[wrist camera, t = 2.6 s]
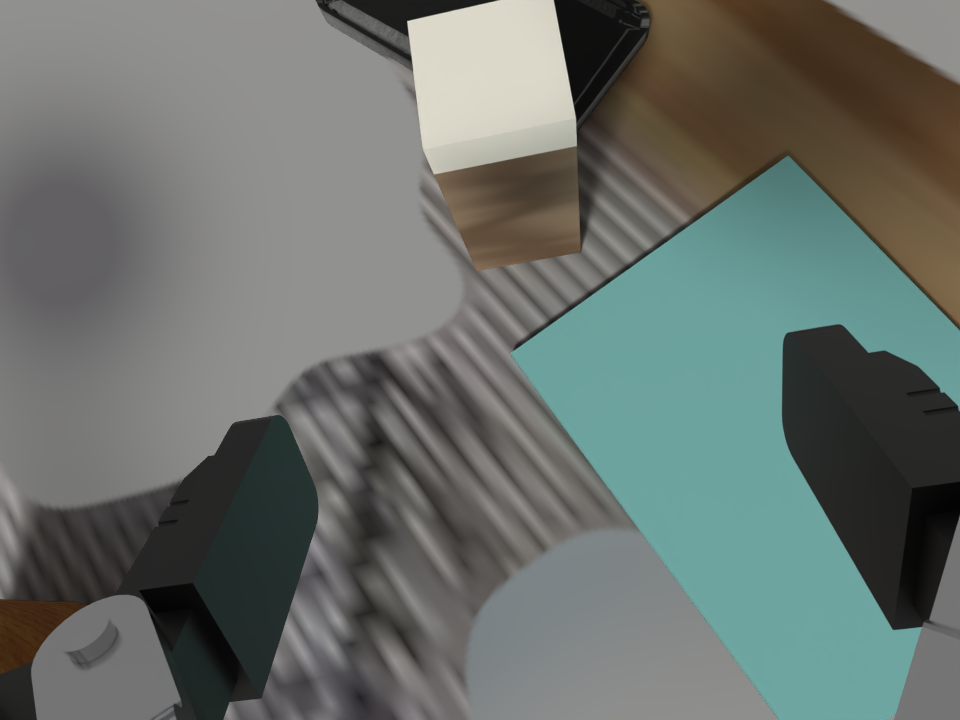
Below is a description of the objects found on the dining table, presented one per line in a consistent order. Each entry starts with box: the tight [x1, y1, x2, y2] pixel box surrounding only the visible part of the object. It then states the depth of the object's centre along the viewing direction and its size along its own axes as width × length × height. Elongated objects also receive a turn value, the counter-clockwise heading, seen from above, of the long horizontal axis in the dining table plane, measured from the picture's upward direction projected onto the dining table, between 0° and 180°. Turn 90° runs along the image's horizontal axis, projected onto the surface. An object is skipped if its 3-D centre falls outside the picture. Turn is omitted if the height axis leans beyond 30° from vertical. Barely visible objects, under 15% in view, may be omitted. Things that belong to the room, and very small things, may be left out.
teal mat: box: [510, 156, 960, 720], centre depth 26 cm, size 18×14×1 cm
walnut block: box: [407, 0, 581, 271], centre depth 25 cm, size 4×4×10 cm
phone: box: [316, 0, 650, 133], centre depth 33 cm, size 8×1×15 cm
